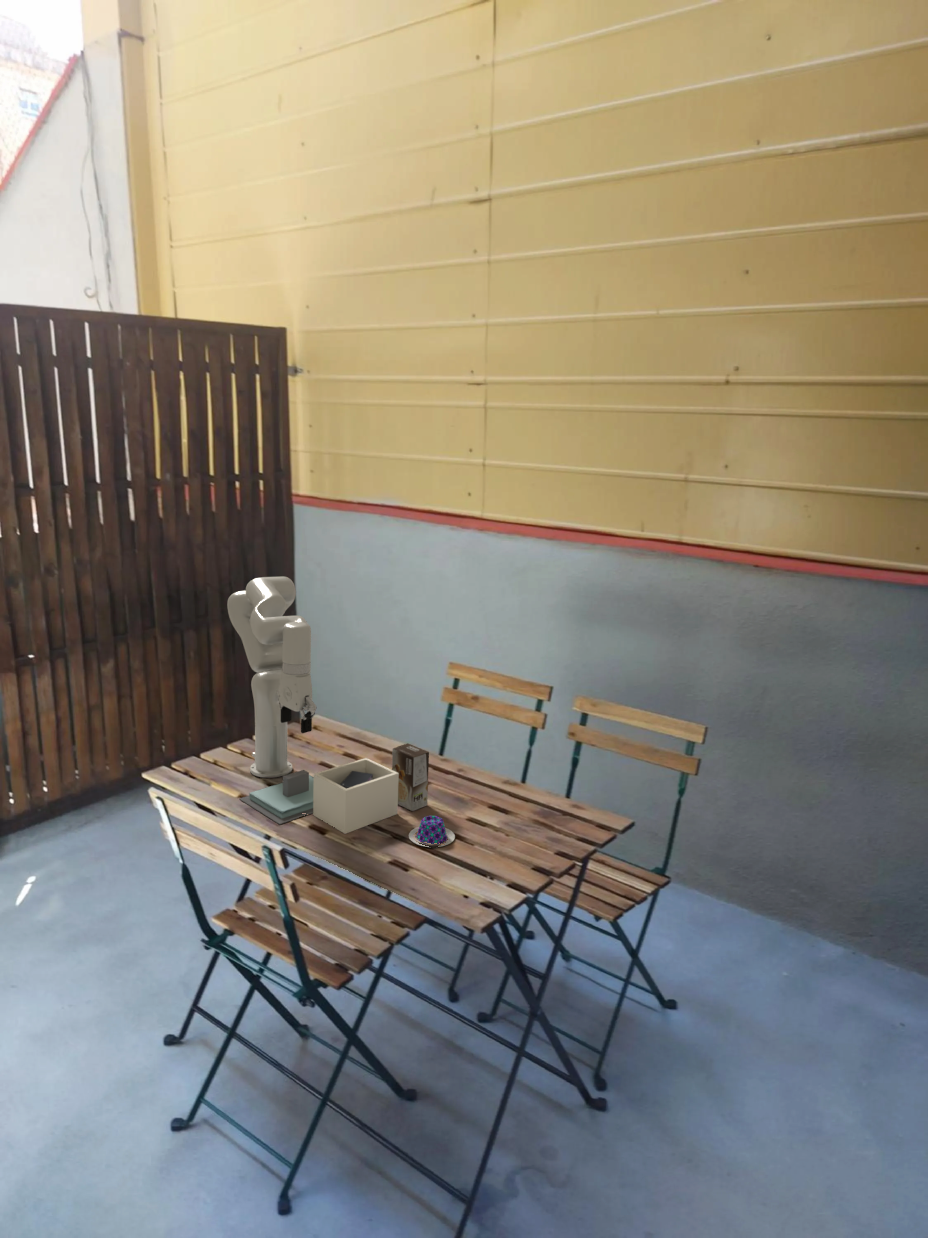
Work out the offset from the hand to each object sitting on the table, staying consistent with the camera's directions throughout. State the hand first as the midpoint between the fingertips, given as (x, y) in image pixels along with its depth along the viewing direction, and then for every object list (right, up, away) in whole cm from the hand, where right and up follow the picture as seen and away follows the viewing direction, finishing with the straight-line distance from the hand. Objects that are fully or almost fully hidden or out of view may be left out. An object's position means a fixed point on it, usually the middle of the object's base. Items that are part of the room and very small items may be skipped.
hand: (295, 726), depth 229 cm
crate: (+17, -24, -3) cm, 29 cm away
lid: (-1, -21, +4) cm, 21 cm away
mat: (-1, -21, +4) cm, 22 cm away
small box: (+17, -24, -3) cm, 29 cm away
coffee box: (+31, -23, +6) cm, 39 cm away
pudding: (+38, -28, -13) cm, 49 cm away
